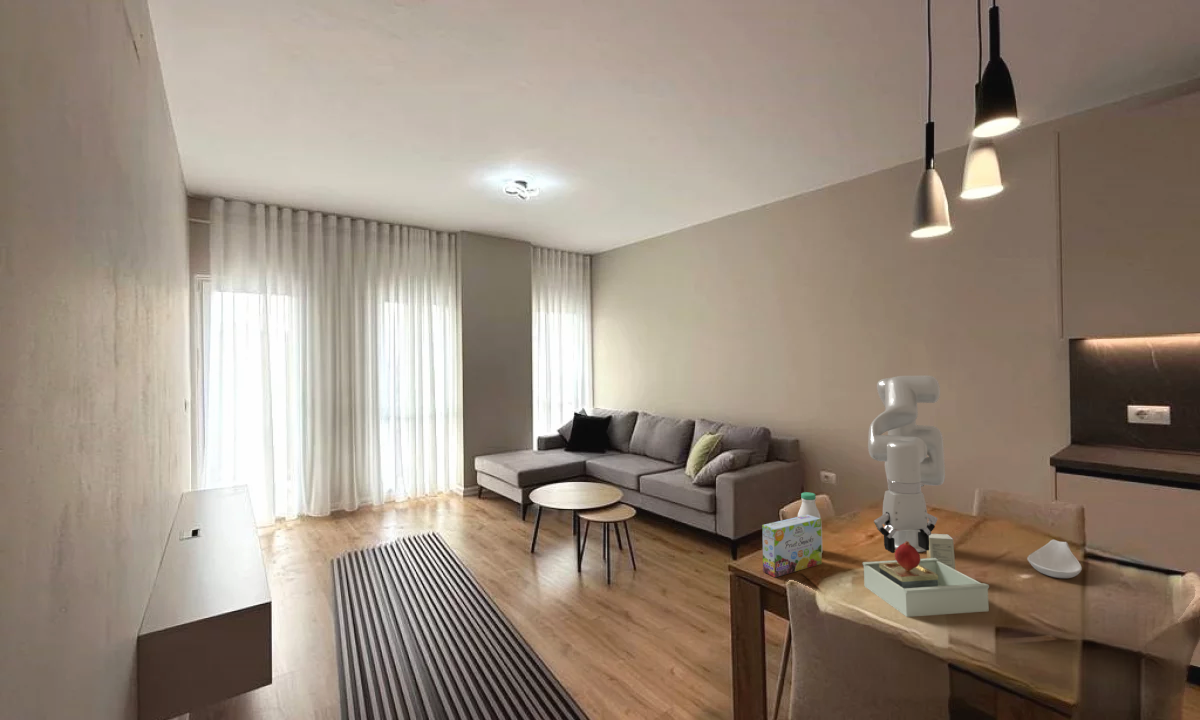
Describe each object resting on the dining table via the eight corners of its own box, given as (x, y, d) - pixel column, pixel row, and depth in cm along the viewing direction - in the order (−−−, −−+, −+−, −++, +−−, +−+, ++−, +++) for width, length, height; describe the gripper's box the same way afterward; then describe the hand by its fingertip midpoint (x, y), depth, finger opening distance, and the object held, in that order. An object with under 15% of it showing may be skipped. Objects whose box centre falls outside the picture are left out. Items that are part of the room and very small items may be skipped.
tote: (936, 583, 139) (934, 557, 139) (990, 614, 121) (988, 585, 122) (863, 588, 138) (862, 562, 138) (907, 620, 120) (906, 590, 120)
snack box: (776, 579, 145) (774, 529, 146) (762, 572, 150) (760, 524, 151) (823, 564, 155) (821, 517, 155) (808, 558, 160) (807, 513, 160)
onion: (890, 566, 132) (889, 537, 132) (910, 565, 133) (909, 536, 133) (905, 575, 126) (904, 545, 126) (925, 574, 127) (924, 544, 127)
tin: (914, 590, 134) (913, 560, 134) (939, 605, 125) (938, 574, 125) (880, 592, 133) (879, 562, 133) (903, 608, 124) (901, 576, 124)
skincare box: (951, 574, 145) (949, 534, 145) (956, 581, 140) (954, 539, 141) (926, 572, 147) (924, 532, 147) (931, 578, 143) (929, 537, 143)
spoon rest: (1080, 587, 135) (1079, 562, 135) (1025, 575, 144) (1024, 551, 144) (1086, 563, 150) (1085, 540, 151) (1036, 553, 159) (1035, 531, 159)
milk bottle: (818, 547, 169) (815, 490, 169) (826, 556, 161) (823, 496, 162) (795, 547, 170) (793, 490, 170) (802, 555, 162) (800, 496, 162)
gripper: (924, 481, 134) (926, 542, 134) (865, 485, 133) (867, 546, 133) (945, 488, 127) (947, 553, 127) (883, 492, 126) (885, 557, 126)
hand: (906, 549), depth 130 cm, fingers open, 9 cm apart
